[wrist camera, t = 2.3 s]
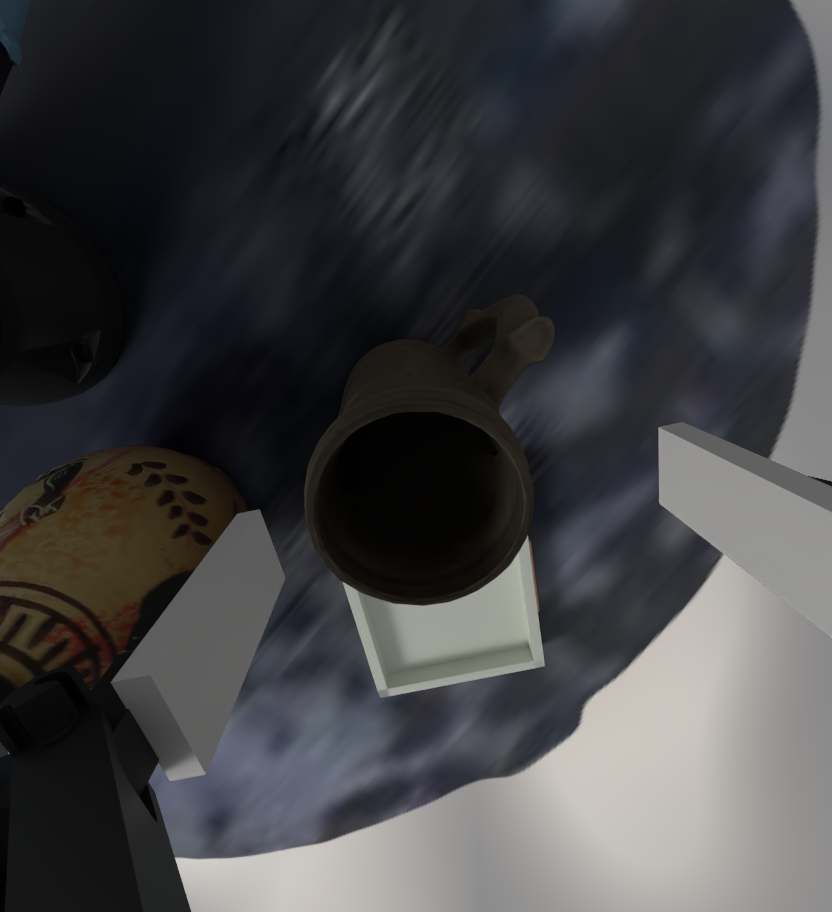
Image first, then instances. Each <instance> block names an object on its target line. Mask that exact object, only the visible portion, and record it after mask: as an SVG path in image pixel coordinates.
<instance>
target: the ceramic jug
mask: <svg viewBox="0 0 832 912" xmlns="http://www.w3.org/2000/svg"><path fill="white" fill-rule="evenodd" d="M243 512H248V510H247V507H246V504H245V502H244V499H243V497H242V494H241V491H240V489H239V488H238V486H237V485H236V483H235V482H234V480H233V479H232V477H231V476H230V475H229V474H228V472H227V471H226V470H225V469H223V468H219V467H215V466H211V465H209V464H208V463H206V462H205V461H203V460H201V459H199V458H196V457H193V456H191V455H188V454H185V453H182V452H178V451H175V450H172V449H167V448H162V447H157V446H142V445H137V446H121V447H115V448H110V449H105V450H100V451H97V452H93V453H90V454H87V455H84V456H81V457H79V458H76V459H74V460H71V461H69V462H67V463H64V464H62V465H60V466H58V467H56V468H53V469H51V470H50V471H48V472H46V473H44V474H42V475H40V476H39V477H38V478H37V479H36V480H35V481H34V482H33V483H30V484H28V485H26V486H25V487H24V489H23V490H22V492H20V493H19V494H18V495H17V496H16V497H15V498H14V499H13V500H12V501H10V502H9V503H8V504H7V505H6V506H5V507H3V508H2V509H0V703H1V702H2V701H3V700H4V699H5V698H6V697H8V696H9V695H10V694H11V693H12V692H14V691H15V690H16V689H17V688H19V687H20V686H22V685H24V684H25V683H27V682H28V681H30V680H32V679H33V678H35V677H37V676H39V675H41V674H43V673H46V672H48V671H50V670H53V669H57V668H60V667H64V666H69V667H75V668H76V669H77V670H78V671H79V673H80V674H81V676H82V678H83V679H84V681H85V682H86V684H87V686H88V687H89V689H90V690H92V688H93V687H94V686H95V685H96V683H97V682H98V681H99V679H100V678H101V677H102V676H103V674H104V673H105V672H106V671H107V669H108V668H109V667H110V665H111V664H112V663H113V662H114V660H115V659H116V658H117V657H118V655H119V654H122V650H123V649H124V648H125V646H126V645H127V644H128V643H129V641H131V640H133V638H132V637H133V636H134V635H135V634H136V632H137V631H138V630H139V629H140V627H141V626H142V625H143V623H144V622H145V621H146V620H147V619H149V618H150V617H151V616H152V615H153V614H155V613H156V612H157V611H158V610H159V609H161V608H162V607H163V606H167V605H169V604H170V603H171V601H172V600H173V599H174V597H175V596H176V595H177V593H178V592H179V591H180V589H181V588H182V587H183V585H184V584H185V583H186V581H187V580H188V579H189V577H190V576H191V575H192V573H193V572H194V571H195V569H196V568H197V567H198V565H199V564H200V563H201V561H202V560H203V559H204V557H205V556H206V555H207V553H208V552H209V551H210V549H211V548H212V547H213V545H214V544H215V543H216V541H217V540H218V539H219V537H220V536H221V535H222V533H223V532H224V531H225V529H226V528H227V527H228V525H229V524H230V523H231V521H232V520H233V519H234V517H235V516H236V515H237V514H239V513H243Z"/></svg>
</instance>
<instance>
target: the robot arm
mask: <svg viewBox="0 0 832 912" xmlns="http://www.w3.org/2000/svg"><path fill="white" fill-rule="evenodd" d="M31 1H32V0H0V95H1V93H2V90H3V88H4V85H5V83H6V80H7V78H8V75H9V73H10V71H11V68H12V66H13V65H14V66H18V65H19V64H20V62H21V58H22V54H21V51H20V48H19V43H20V39H21V35H22V32H23V28H24V24H25V21H26V17H27V13H28V10H29V7H30V4H31ZM123 332H124V315H123V307H122V301H121V297H120V293H119V290H118V286H117V284H116V281H115V278H114V276H113V274H112V272H111V270H110V268H109V266H108V264H107V262H106V260H105V259H104V257H103V255H102V254H101V252H100V251H99V249H98V248H97V247H96V245H95V244H94V243H93V241H92V240H91V239H90V238H89V236H88V235H87V234H86V233H85V232H84V231H83V230H82V229H81V228H80V227H79V226H78V225H77V224H76V223H75V222H74V221H73V220H72V219H71V218H70V217H68V216H67V215H66V214H65V213H63V212H62V211H61V210H59V209H58V208H57V207H55V206H54V205H52V204H51V203H49V202H47V201H46V200H44V199H42V198H40V197H38V196H37V195H34V194H32V193H30V192H28V191H25V190H23V189H20V188H17V187H14V186H11V185H8V184H4V183H1V182H0V405H10V406H34V405H43V404H48V403H52V402H56V401H59V400H63V399H66V398H69V397H72V396H75V395H78V394H80V393H83V392H85V391H87V390H88V389H90V388H92V387H93V386H95V385H96V384H97V383H98V382H99V381H101V380H102V379H103V378H104V377H105V376H106V374H107V373H108V372H109V371H110V369H111V368H112V366H113V364H114V363H115V361H116V359H117V356H118V354H119V351H120V348H121V344H122V340H123ZM659 504H661V505H662V506H663V507H664V508H666V509H667V510H668V511H670V512H671V513H672V514H673V515H675V516H676V517H677V518H679V519H680V520H681V521H682V522H684V523H685V524H686V525H688V526H689V527H690V528H691V529H693V530H694V531H695V532H696V533H698V534H699V535H700V536H702V537H703V538H704V539H705V540H707V541H708V542H709V543H711V544H712V545H713V546H714V547H716V548H717V549H718V550H719V551H721V552H722V553H723V554H725V555H726V556H727V557H728V558H730V559H731V560H732V561H734V562H735V563H736V564H737V565H739V566H740V567H741V568H743V569H744V570H745V571H746V572H748V573H749V574H750V575H752V576H753V577H754V578H756V579H757V580H758V581H759V582H761V583H762V584H763V585H764V586H766V587H767V588H768V589H770V590H771V591H772V592H773V593H775V594H776V595H777V596H778V597H780V598H781V599H782V600H784V601H785V602H786V603H787V604H789V605H790V606H791V607H792V608H794V609H795V610H796V611H798V612H799V613H800V614H801V615H803V616H804V617H805V618H807V619H808V620H809V621H810V622H812V623H813V624H814V625H815V626H817V627H818V628H819V629H821V630H822V631H823V632H825V633H826V634H827V635H828V636H829V637H831V638H832V482H831V481H827V480H823V479H819V478H814V477H810V476H806V475H804V474H801V473H799V472H797V471H794V470H792V469H790V468H787V467H785V466H783V465H780V464H778V463H776V462H773V461H771V460H769V459H767V458H764V457H762V456H760V455H757V454H755V453H753V452H750V451H748V450H746V449H743V448H741V447H739V446H737V445H734V444H732V443H730V442H727V441H725V440H723V439H720V438H718V437H716V436H713V435H711V434H709V433H706V432H704V431H702V430H699V429H697V428H695V427H693V426H690V425H688V424H686V423H683V422H681V423H676V424H671V425H667V426H662V427H659ZM284 580H285V576H284V573H283V570H282V568H281V565H280V562H279V560H278V557H277V554H276V551H275V549H274V546H273V543H272V541H271V538H270V535H269V533H268V530H267V527H266V525H265V522H264V519H263V517H262V514H261V511H260V509H258V510H253V511H248V512H243V513H239V514H237V515H236V516H235V517H234V519H233V520H232V521H231V523H230V524H229V525H228V527H227V528H226V529H225V531H224V532H223V533H222V535H221V536H220V537H219V539H218V540H217V541H216V543H215V544H214V545H213V547H212V548H211V549H210V551H209V552H208V553H207V555H206V556H205V557H204V559H203V560H202V561H201V563H200V564H199V565H198V567H197V568H196V569H195V571H194V572H193V573H192V575H191V576H190V577H189V579H188V580H187V581H186V583H185V584H184V585H183V587H182V588H181V589H180V591H179V592H178V593H177V595H176V596H175V597H174V599H173V600H172V601H171V603H170V604H169V605H167V606H163V607H162V608H161V609H159V610H158V611H157V612H156V613H155V614H153V615H152V616H151V617H150V618H149V619H147V620H146V621H145V622H144V623H143V625H142V626H141V627H140V629H139V630H138V631H137V632H136V634H135V635H134V636H133V637H132V638H133V640H131V641H129V643H128V644H127V645H126V646H125V648H124V649H123V650H122V654H119V655H118V657H117V658H116V659H115V660H114V662H113V663H112V664H111V665H110V667H109V668H108V669H107V671H106V672H105V673H104V674H103V676H102V677H101V678H100V679H99V681H98V682H97V683H96V685H95V686H94V687H93V688H92V690H90V689H89V687H88V686H87V684H86V682H85V681H84V679H83V678H82V676H81V674H80V673H79V671H78V670H77V669H76V668H75V667H69V666H64V667H60V668H57V669H53V670H50V671H48V672H46V673H43V674H41V675H39V676H37V677H35V678H33V679H32V680H30V681H28V682H27V683H25V684H24V685H22V686H20V687H19V688H17V689H16V690H15V691H14V692H12V693H11V694H10V695H9V696H8V697H6V698H5V699H4V700H3V701H2V702H1V703H0V742H1V743H2V745H3V746H4V747H5V749H6V750H7V751H8V752H9V754H8V755H6V756H3V757H1V758H0V912H191V910H190V907H189V903H188V900H187V897H186V894H185V890H184V887H183V883H182V880H181V877H180V874H179V870H178V867H177V864H176V860H175V857H174V854H173V851H172V847H171V844H170V841H169V837H168V834H167V831H166V827H165V824H164V821H163V818H162V814H161V811H160V808H159V804H158V801H157V798H156V794H155V792H154V790H153V789H152V787H151V786H150V784H149V782H148V781H149V779H150V777H151V775H152V773H153V771H154V769H155V767H156V765H157V763H158V762H159V764H160V765H161V767H162V769H163V770H164V772H165V773H166V775H167V777H168V778H169V780H170V781H174V780H179V779H184V778H190V777H195V776H201V775H206V773H207V770H208V768H209V766H210V763H211V761H212V758H213V756H214V753H215V751H216V748H217V746H218V743H219V741H220V738H221V736H222V733H223V731H224V729H225V726H226V724H227V721H228V719H229V716H230V714H231V711H232V709H233V706H234V704H235V701H236V699H237V696H238V694H239V691H240V689H241V687H242V684H243V682H244V679H245V677H246V674H247V672H248V669H249V667H250V664H251V662H252V659H253V657H254V654H255V652H256V649H257V647H258V645H259V642H260V640H261V637H262V635H263V632H264V630H265V627H266V625H267V622H268V620H269V617H270V615H271V612H272V610H273V607H274V605H275V603H276V600H277V598H278V595H279V593H280V590H281V588H282V585H283V583H284Z"/></svg>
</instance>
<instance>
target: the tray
mask: <svg viewBox="0 0 832 912" xmlns="http://www.w3.org/2000/svg"><path fill="white" fill-rule="evenodd" d="M343 584H344V587H345V591H346V594H347V597H348V600H349V603H350V606H351V609H352V612H353V616H354V619H355V622H356V625H357V628H358V631H359V634H360V637H361V641H362V644H363V647H364V650H365V653H366V656H367V659H368V662H369V666H370V669H371V672H372V675H373V678H374V681H375V684H376V687H377V690H378V694H379V697H380V698H383V697H388V696H393V695H398V694H403V693H409V692H414V691H419V690H424V689H429V688H435V687H440V686H445V685H450V684H455V683H461V682H466V681H471V680H476V679H481V678H487V677H492V676H497V675H502V674H507V673H512V672H518V671H523V670H528V669H533V668H538V667H544V666H545V664H544V656H543V648H542V641H541V633H540V625H539V618H538V612H540V609H539V601H538V594H537V586H536V578H535V570H534V562H533V555H532V547H531V541H530V539H529V537H528V535H527V538H526V540H525V542H524V544H523V546H522V547H521V549H520V551H519V552H518V554H517V555H516V557H515V558H514V560H513V562H512V563H511V565H510V566H509V567H508V568H507V569H505V570H504V571H503V572H502V573H501V574H500V575H499V576H498V577H497V578H495V579H494V580H492V581H491V582H490V583H488V584H487V585H485V586H484V587H483V588H481V589H480V590H478V591H476V592H474V593H472V594H470V595H467V596H465V597H462V598H460V599H457V600H454V601H451V602H447V603H440V604H433V605H425V606H419V605H405V604H393V603H390V602H387V601H384V600H380V599H377V598H374V597H371V596H368V595H365V594H362V593H360V592H359V591H357V590H355V589H354V588H352V587H350V586H349V585H347V584H346V583H344V582H343Z"/></svg>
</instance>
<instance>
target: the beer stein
mask: <svg viewBox="0 0 832 912" xmlns="http://www.w3.org/2000/svg"><path fill="white" fill-rule="evenodd" d="M554 337H555V328H554V324H553V322H552V321H551V319H550V318H549V317H542V316H539V312H538V310H537V307H536V306H535V304H534V303H533V301H531V300H530V299H529V298H528V297H526V296H524V295H519V294H516V295H511V296H508V297H506V298H504V299H501V300H499V301H497V302H495V303H494V304H492V305H491V306H489V307H488V308H487V309H485V310H484V311H482V310H479V309H471V310H468V311H467V313H466V314H465V316H464V318H463V319H462V321H461V323H460V324H459V326H458V328H457V330H456V332H455V335H454V336H453V338H452V339H451V340H450V341H449V342H447V343H446V344H445V345H444V346H442V347H438V346H435V345H433V344H430V343H427V342H424V341H421V340H413V339H400V340H395V341H391V342H387V343H384V344H381V345H379V346H377V347H375V348H373V349H372V350H371V351H369V352H368V353H367V354H365V355H364V356H363V357H362V358H361V359H360V360H359V361H358V362H357V364H356V365H355V367H354V368H353V370H352V371H351V373H350V374H349V377H348V380H347V382H346V385H345V388H344V394H343V397H342V402H341V408H340V411H339V414H338V417H337V419H336V420H335V421H334V422H333V423H332V424H331V425H330V426H329V428H328V429H327V431H326V432H325V433H324V435H323V436H322V437H321V439H320V440H319V442H318V444H317V446H316V448H315V451H314V453H313V455H312V457H311V460H310V462H309V464H308V469H307V476H306V482H305V489H304V497H305V502H304V506H305V516H306V522H307V527H308V531H309V535H310V538H311V540H312V543H313V545H314V547H315V549H316V551H317V552H318V554H319V556H320V557H321V559H322V561H323V562H324V563H325V564H326V565H327V566H328V567H329V568H330V570H331V571H332V572H333V573H334V574H335V575H336V576H337V577H338V578H339V580H341V581H342V582H344V583H346V584H347V585H349V586H350V587H352V588H354V589H355V590H357V591H359V592H360V593H362V594H365V595H368V596H371V597H374V598H377V599H380V600H384V601H387V602H390V603H393V604H405V605H419V606H425V605H433V604H440V603H447V602H451V601H454V600H457V599H460V598H462V597H465V596H467V595H470V594H472V593H474V592H476V591H478V590H480V589H481V588H483V587H484V586H485V585H487V584H488V583H490V582H491V581H492V580H494V579H495V578H497V577H498V576H499V575H500V574H501V573H502V572H503V571H504V570H505V569H507V568H508V567H509V566H510V565H511V563H512V562H513V560H514V558H515V557H516V555H517V554H518V552H519V551H520V549H521V547H522V546H523V544H524V542H525V540H526V538H527V535H528V531H529V528H530V524H531V520H532V516H533V509H534V491H533V483H532V479H531V476H530V472H529V467H528V462H527V459H526V457H525V454H524V451H523V449H522V446H521V444H520V442H519V440H518V439H517V437H516V435H515V434H514V432H513V431H512V429H511V428H510V426H509V425H508V424H507V423H506V422H505V420H504V419H503V418H502V417H501V416H500V415H499V414H498V411H499V406H500V404H501V402H502V400H503V398H504V396H505V395H506V393H507V392H508V391H509V389H510V388H511V386H512V385H513V383H514V382H515V380H516V379H517V378H518V376H519V375H520V374H521V372H522V371H523V370H524V369H526V368H527V367H528V366H530V365H532V364H535V363H538V362H540V361H543V360H544V359H545V358H546V356H547V354H548V353H549V351H550V349H551V347H552V344H553V340H554ZM494 340H495V341H494ZM491 341H494V345H493V347H492V349H491V351H490V353H489V355H488V356H487V357H486V359H485V360H484V361H483V363H482V364H481V365H480V366H479V367H478V368H477V369H476V370H475V371H474V373H473V374H472V375H471V376H469V375H468V373H467V372H466V369H465V367H464V359H465V357H466V356H467V354H468V353H469V352H470V351H472V350H473V349H475V348H479V347H481V346H483V345H485V344H487V343H489V342H491Z"/></svg>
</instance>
